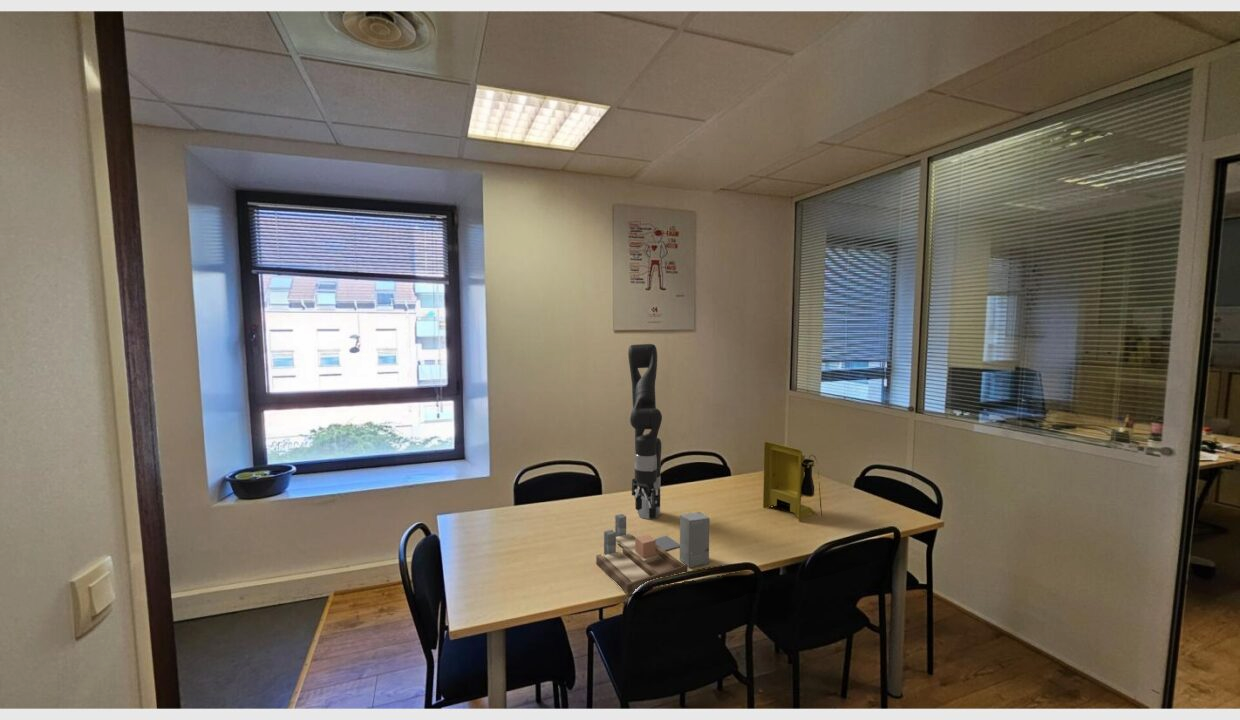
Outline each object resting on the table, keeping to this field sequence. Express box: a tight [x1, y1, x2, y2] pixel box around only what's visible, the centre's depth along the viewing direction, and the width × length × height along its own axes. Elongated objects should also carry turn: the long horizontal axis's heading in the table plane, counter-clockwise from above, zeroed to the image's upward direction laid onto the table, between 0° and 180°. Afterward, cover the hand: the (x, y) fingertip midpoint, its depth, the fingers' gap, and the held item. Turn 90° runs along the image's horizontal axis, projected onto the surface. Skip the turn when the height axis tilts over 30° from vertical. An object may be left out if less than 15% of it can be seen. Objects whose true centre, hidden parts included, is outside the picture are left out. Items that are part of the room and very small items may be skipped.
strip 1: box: [614, 513, 660, 563], centre depth 162 cm, size 22×6×8 cm, turn 30°
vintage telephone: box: [762, 441, 823, 522], centre depth 196 cm, size 31×14×30 cm, turn 34°
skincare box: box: [679, 511, 710, 568], centre depth 155 cm, size 8×7×16 cm
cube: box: [635, 534, 656, 558], centre depth 156 cm, size 5×5×5 cm
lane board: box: [595, 545, 688, 596], centre depth 149 cm, size 21×22×3 cm
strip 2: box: [603, 529, 649, 582], centre depth 148 cm, size 22×6×8 cm, turn 30°
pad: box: [654, 535, 680, 552], centre depth 167 cm, size 9×9×1 cm
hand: (645, 513), depth 155 cm, fingers open, 8 cm apart
